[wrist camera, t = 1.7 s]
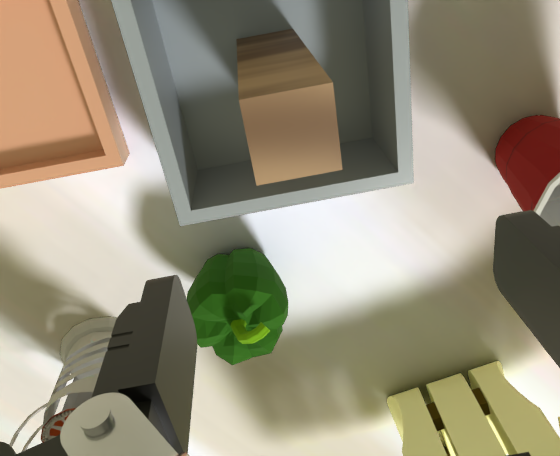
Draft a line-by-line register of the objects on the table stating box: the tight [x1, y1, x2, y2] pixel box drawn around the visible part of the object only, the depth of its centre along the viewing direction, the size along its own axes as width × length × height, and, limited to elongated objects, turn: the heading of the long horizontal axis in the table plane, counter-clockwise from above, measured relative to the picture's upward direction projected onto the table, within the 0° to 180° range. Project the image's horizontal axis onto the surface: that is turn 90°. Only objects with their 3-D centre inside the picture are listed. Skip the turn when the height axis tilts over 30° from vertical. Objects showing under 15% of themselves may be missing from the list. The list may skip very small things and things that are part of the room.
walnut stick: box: [236, 29, 343, 186], centre depth 29 cm, size 4×4×16 cm
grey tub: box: [111, 0, 414, 226], centre depth 33 cm, size 16×16×8 cm
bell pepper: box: [187, 248, 288, 365], centre depth 41 cm, size 8×8×10 cm
